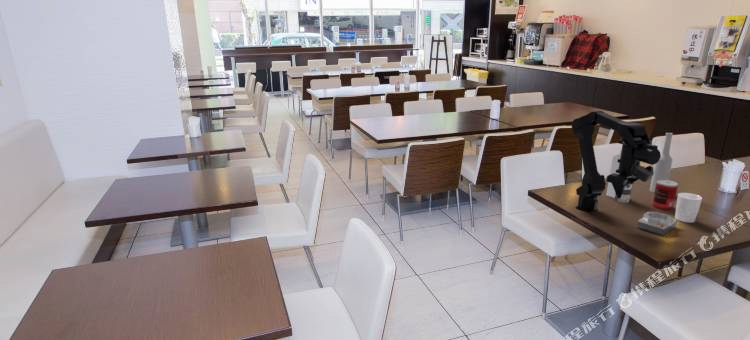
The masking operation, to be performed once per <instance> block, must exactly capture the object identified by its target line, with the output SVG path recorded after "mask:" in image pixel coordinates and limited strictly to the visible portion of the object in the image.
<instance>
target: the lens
mask: <svg viewBox="0 0 750 340" xmlns="http://www.w3.org/2000/svg"><path fill="white" fill-rule="evenodd" d="M627 183H629V184H628V185H626V186H625V187H624V190H623V193H622V196H621V198H617V196H616V193H615V198H613V200H614V201H615V202H618V203H625V204H627V203H629V202H630V198H631V194H632V190H633V189H632V187H633V185H632V183H630V182H627Z"/></svg>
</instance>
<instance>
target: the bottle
mask: <svg viewBox="0 0 750 340" xmlns="http://www.w3.org/2000/svg"><path fill="white" fill-rule="evenodd" d="M673 135H674V133H673V132H665V138H664V143H663V147H662V151H661V152H660V155H661V157H660V159H659V161H658V162H657V163H656V164H654V165H653V166H654V167H653V172H654V173H653V174H654V175H653V176H651V181H650V185H649V186H650V187H649V192H651V193H653V194H654V193H655V188H656V183H657V181H658V180H670V174H671V170H672V164H673V158H672V157H671V155H670V151H671V144H672V140H673Z"/></svg>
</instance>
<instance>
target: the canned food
mask: <svg viewBox="0 0 750 340" xmlns="http://www.w3.org/2000/svg"><path fill="white" fill-rule="evenodd" d="M678 186H679V183H677V182H676V181H674V180H670V179H669V180H658V181H657V183H656V188H655V193H653V198H652V206H653V207H654V208H656V209H659V210H665V211H669V210H672V209H673V208H674V204H675V201H676V197H677V192H678Z"/></svg>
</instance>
